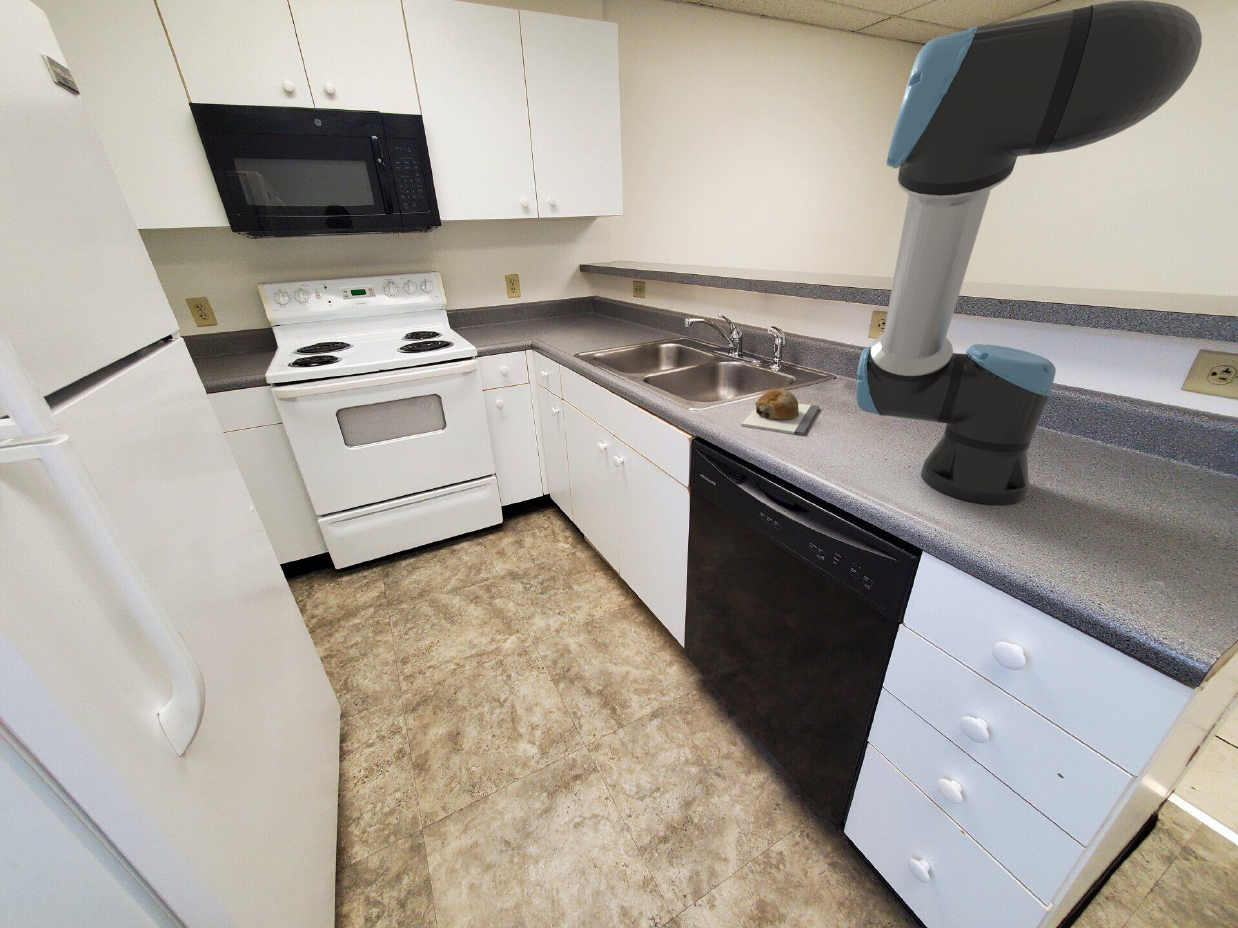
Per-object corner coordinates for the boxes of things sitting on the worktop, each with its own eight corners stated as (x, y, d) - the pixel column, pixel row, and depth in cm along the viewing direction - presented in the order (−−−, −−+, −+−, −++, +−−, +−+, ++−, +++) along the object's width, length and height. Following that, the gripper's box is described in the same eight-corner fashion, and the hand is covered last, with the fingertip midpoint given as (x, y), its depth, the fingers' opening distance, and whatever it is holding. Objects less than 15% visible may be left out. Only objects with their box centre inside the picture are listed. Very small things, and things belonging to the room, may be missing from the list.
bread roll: (794, 435, 113) (813, 406, 110) (756, 418, 112) (775, 388, 108) (781, 420, 122) (799, 393, 119) (747, 405, 120) (763, 376, 117)
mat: (803, 435, 105) (803, 432, 105) (741, 425, 112) (741, 423, 111) (818, 408, 121) (819, 405, 120) (763, 401, 127) (763, 398, 127)
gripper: (932, 164, 100) (908, 272, 109) (938, 148, 80) (908, 283, 89) (975, 160, 96) (947, 273, 105) (993, 143, 77) (956, 283, 86)
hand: (929, 278), depth 97 cm, fingers open, 13 cm apart
